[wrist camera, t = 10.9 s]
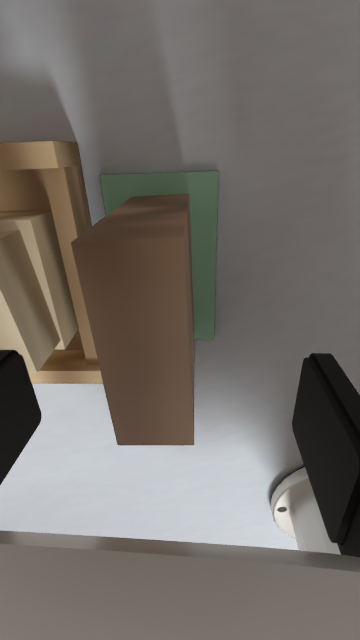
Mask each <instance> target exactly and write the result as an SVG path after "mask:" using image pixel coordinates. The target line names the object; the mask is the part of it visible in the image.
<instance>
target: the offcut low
mask: <svg viewBox="0 0 360 640" xmlns="http://www.w3.org/2000/svg"><path fill="white" fill-rule="evenodd" d="M14 230H20V232H21V235H22V238H23V240H24V243H25V246H26V248H27V251H28V254H29V257H30V259H31V262H32V265H33V267H34V270H35V273H36V275H37V278H38V281H39V284H40V286H41V289H42V292H43V294H44V297H45V300H46V302H47V305H48V308H49V311H50V313H51V316H52V319H53V321H54V324H55V327H56V329H57V332H58V335H59V338H60V342H59V343H58V345H57V346H56V347H55V349H66V347H67V346H68V344H69V343H70V341H71V340H72V338H73V336H74V335H75V333H76V332H77V330H78V329H79V327H78V323H77V319H76V314H75V310H74V306H73V301H72V297H71V293H70V288H69V284H68V280H67V275H66V271H65V267H64V262H63V258H62V254H61V249H60V245H59V241H58V236H57V232H56V228H55V223H54V219H53V215H52V210H51V209H48V210H15V211H0V232H5V231H14Z"/></svg>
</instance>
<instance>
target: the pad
mask: <svg viewBox="0 0 360 640" xmlns="http://www.w3.org/2000/svg"><path fill="white" fill-rule="evenodd" d="M100 180H101V187H102V194H103V201H104V207H105V214H106V216H107V215H108V214H110V213H111V212H112V211H114V210H115V209H116V208H118V207H119V206H120V205H122V204H123V203H124V202H126V201H127V200H128V199H130V198H131V197H138V196H156V195H174V194H189V200H190V226H191V252H192V278H193V304H194V340H214V328H215V286H216V244H217V202H218V171H198V172H170V173H142V174H115V175H100Z"/></svg>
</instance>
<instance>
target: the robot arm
mask: <svg viewBox="0 0 360 640" xmlns="http://www.w3.org/2000/svg"><path fill="white" fill-rule="evenodd" d="M40 421H41V411H40V408H39V405H38V402H37V399H36V395H35V392H34V389H33V386H32V383H31V380H30V377H29V373H28V370H27V367H26V364H25V361H24V358H23V356H22V355H21V354H19V353H18V352H17V351H16V350H0V485H1V483H2V482H3V480H4V478H5V477H6V475H7V474H8V472H9V471H10V469H11V468H12V466H13V464H14V463H15V461H16V460H17V458H18V457H19V455H20V453H21V452H22V450H23V449H24V447H25V446H26V444H27V443H28V441H29V439H30V438H31V436H32V435H33V433H34V432H35V430H36V429H37V427H38V425H39V424H40ZM292 427H293V432H294V436H295V439H296V442H297V445H298V448H299V450H300V453H301V456H302V459H303V462H304V465H305V467H303V468H301V469H299V470H297V471H295V472H294V473H292V474H291V475H289V476H288V477H287V478H285V479H284V480H283V481H282V482H281V483H280V484H279V485H278V486H277V488H276V490H275V491H274V493H273V495H272V499H271V509H272V513H273V518H274V521H275V523H276V524H277V526H278V527H279V528H280V529H281V530H282V531H283V532H284V533H286V534H287V535H289V536H291V537H292V538H294V539H296V540H297V544H298V548H299V550H288V549H276V548H264V547H251V546H236V545H221V544H207V543H192V542H177V541H162V540H147V539H131V538H115V537H99V536H82V535H66V534H50V533H33V532H15V531H0V640H360V395H359V394H358V392H357V391H356V389H355V388H354V386H353V385H352V383H351V382H350V380H349V379H348V377H347V376H346V374H345V373H344V372H343V370H342V369H341V367H340V366H339V364H338V363H337V361H336V360H335V358H334V357H333V355H332V354H320V353H312V354H310V356H309V358H304V360H303V365H302V370H301V376H300V381H299V387H298V392H297V398H296V403H295V409H294V415H293V420H292Z"/></svg>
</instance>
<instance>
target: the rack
mask: <svg viewBox="0 0 360 640" xmlns="http://www.w3.org/2000/svg"><path fill="white" fill-rule="evenodd" d="M48 209H51V210H52V215H53V219H54V223H55V228H56V232H57V236H58V241H59V245H60V249H61V254H62V258H63V262H64V267H65V271H66V275H67V280H68V284H69V288H70V293H71V297H72V301H73V306H74V310H75V314H76V319H77V323H78V327H79V329H78V330H77V332H76V333H75V335H74V336H73V338H72V340H71V341H70V343H69V344H68V346H67V347H66V349H54V350H53V352H52V353H51V355H50V356H49V357H48V359H47V360H46V362H45V363H44V364H43V366H42V367H41V369H40V370H39V372H38V373H31V374H29V377H30V380H31V383H32V384H103V380H102V376H101V371H100V367H99V363H98V358H97V354H96V350H95V346H94V341H93V337H92V333H91V328H90V324H89V320H88V315H87V311H86V307H85V303H84V298H83V294H82V290H81V285H80V281H79V277H78V273H77V268H76V264H75V260H74V255H73V251H72V247H71V242H72V241H73V240H75V239H76V238H77V237H79V236H80V235H82V234H83V233H84V232H86V231H87V230H88V229H90V228H91V227H92V225H91V219H90V213H89V207H88V201H87V196H86V190H85V184H84V178H83V172H82V167H81V161H80V155H79V149H78V144H77V142H63V141H38V142H15V143H0V211H15V210H48Z"/></svg>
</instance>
